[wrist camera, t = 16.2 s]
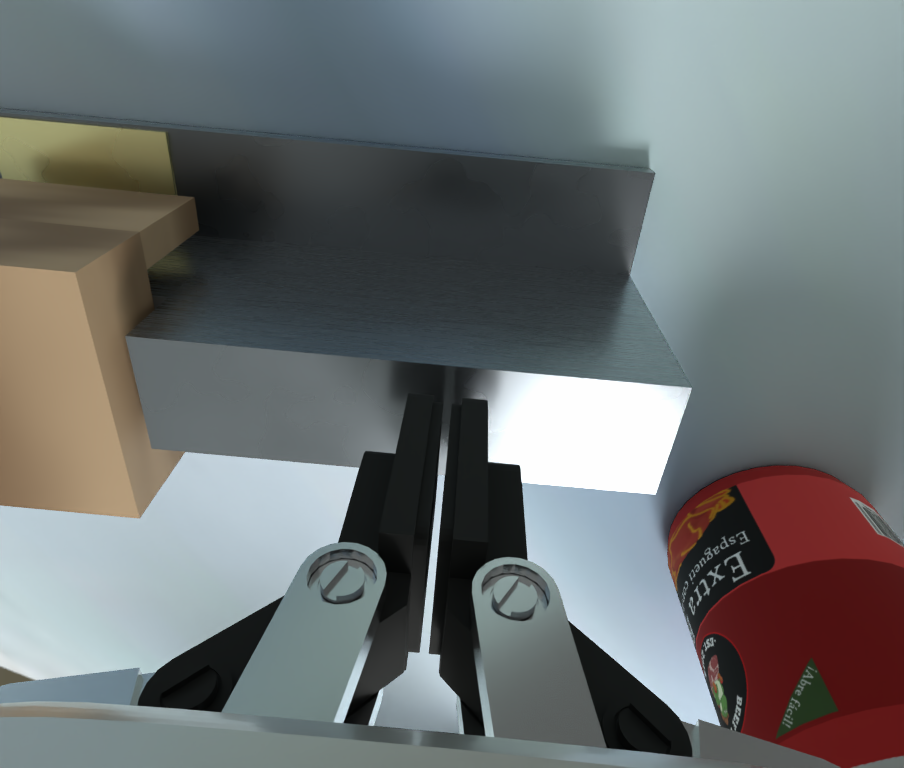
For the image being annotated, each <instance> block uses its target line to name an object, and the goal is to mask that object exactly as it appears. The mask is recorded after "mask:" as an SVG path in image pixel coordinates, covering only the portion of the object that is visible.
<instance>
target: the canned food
mask: <svg viewBox="0 0 904 768" xmlns="http://www.w3.org/2000/svg"><path fill="white" fill-rule="evenodd" d="M667 555H668V567H669V570H670V573H671V576H672V579H673V582H674V585H675V588H676V591H677V594H678V597H679V600H680V603H681V606H682V609H683V612H684V615H685V618H686V622H687V625H688V628H689V631H690V634H691V637H692V640H693V643H694V646H695V649H696V652H697V655H698V658H699V661H700V664H701V667H702V670H703V673H704V676H705V679H706V682H707V685H708V689H709V692H710V695H711V698H712V701H713V704H714V707H715V710H716V713H717V716H718V719H719V722H720V725H721V727H724V728H727V729H730V730H733V731H737V732H740V733H743V734H746V735H749V736H752V737H755V738H759V739H762V740H765V741H768V742H771V743H774V744H777V745H781V746H784V747H787V748H790V749H793V750H796V751H800V752H803V753H806V754H809V755H812V756H815V757H818V758H822V759H824V760H826V761H828V762H830V763H832V764H835V765H837V766H839V767H841V768H904V545H903V543H902V542H901V541H900V540H899V538H898V537H897V536H896V535H895V533H894V532H893V531H892V530H891V528H890V527H889V526H888V525H887V523H886V522H885V521H884V520H883V518H882V517H881V516H880V515H879V513H878V512H877V511H876V510H875V508H874V507H873V506H872V505H871V504H870V503H869V502H868V501H867V500H866V499H865V498H864V496H863V495H862V494H860V493H858V492H857V491H855V490H854V489H852V488H851V487H849V486H848V485H846V484H845V483H843V482H841V481H840V480H838V479H837V478H835V477H833V476H832V475H829V474H826V473H824V472H821V471H818V470H816V469H811V468H805V467H799V466H778V465H776V466H767V467H759V468H753V469H749V470H745V471H741V472H737V473H734V474H732V475H729V476H727V477H724V478H722V479H720V480H717V481H715V482H714V483H712V484H710V485H709V486H707V487H705V488H704V489H702V490H700V491H699V492H698V493H697V494H696V495H694V496H693V497H692V498H691V499H689V500H688V501H687V502H686V504H685V505H684V506H683V507H682V508H681V510H680V511H679V512H678V513H677V515H676V517H675V519H674V521H673V523H672V525H671V528H670V533H669V537H668V552H667Z"/></svg>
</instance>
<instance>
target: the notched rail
mask: <svg viewBox="0 0 904 768" xmlns="http://www.w3.org/2000/svg"><path fill="white" fill-rule="evenodd" d="M654 175H655V173H654V172H653V171H652V170H651V169H650V168H640V167H629V166H618V165H608V164H597V163H586V162H575V161H565V160H554V159H543V158H532V157H521V156H511V155H500V154H489V153H478V152H467V151H457V150H446V149H435V148H424V147H414V146H403V145H392V144H381V143H370V142H360V141H349V140H338V139H327V138H316V137H306V136H295V135H284V134H273V133H263V132H252V131H241V130H230V129H219V128H209V127H198V126H187V125H176V124H165V123H155V122H144V121H133V120H122V119H112V118H101V117H90V116H79V115H68V114H58V113H47V112H36V111H25V110H14V109H4V108H0V178H1V179H11V180H22V181H32V182H42V183H53V184H63V185H73V186H84V187H94V188H104V189H115V190H125V191H135V192H146V193H156V194H166V195H177V196H187V197H195V204H196V211H197V219H198V226H199V231H197V232H196V233H195V234H194V235H192V236H191V237H190V238H188V239H187V240H186V241H184V242H183V243H182V244H180V245H179V246H178V247H176V248H175V249H174V250H172V251H171V252H170V253H168V254H167V255H166V256H164V257H163V258H162V259H160V260H159V261H158V262H156V263H155V264H154V265H153V266H151V267H150V268H149V269H147V272H148V277H149V282H150V288H151V293H152V298H153V303H154V308H155V310H154V311H153V312H152V313H150V314H149V315H148V316H147V317H146V318H145V319H144V320H143V321H141V322H140V323H139V324H138V325H137V326H136V327H135V328H134V329H133V330H131V331H130V332H129V333H128V334H127V335H126V336H125V338H126V342H127V346H128V351H129V355H130V359H131V363H132V368H133V372H134V376H135V380H136V385H137V389H138V393H139V397H140V402H141V406H142V410H143V414H144V419H145V423H146V427H147V431H148V436H149V440H150V444H151V448H152V449H160V450H171V451H182V452H193V453H204V454H215V455H226V456H237V457H248V458H259V459H270V460H281V461H292V462H303V463H314V464H325V465H336V466H347V467H358V468H360V464H361V461H362V457H363V455H364V452H365V451H373V452H384V453H396V448H397V443H398V439H399V434H400V429H401V424H402V420H403V415H404V410H405V406H406V401H407V396H408V393H415V394H426V395H434V402H439V403H443V415H442V428H441V440H440V453H439V465H438V475H445V470H446V459H447V449H448V438H449V427H450V416H451V406H452V404H461V405H462V398H470V399H481V400H488V462H494V463H505V464H516V465H520V468H521V479H522V482H523V483H534V484H545V485H556V486H567V487H578V488H589V489H600V490H611V491H622V492H633V493H644V494H655V495H656V492H657V489H658V486H659V483H660V480H661V477H662V474H663V471H664V469H665V466H666V463H667V460H668V457H669V454H670V451H671V448H672V445H673V442H674V440H675V437H676V434H677V431H678V428H679V425H680V422H681V419H682V416H683V413H684V411H685V408H686V405H687V402H688V399H689V396H690V393H691V390H692V387H691V385H690V383H689V381H688V380H687V378H686V376H685V374H684V372H683V371H682V369H681V367H680V365H679V363H678V362H677V360H676V358H675V356H674V354H673V353H672V351H671V349H670V347H669V346H668V344H667V342H666V340H665V338H664V337H663V335H662V333H661V331H660V329H659V328H658V326H657V324H656V322H655V320H654V319H653V317H652V315H651V313H650V312H649V310H648V308H647V306H646V304H645V303H644V301H643V299H642V297H641V295H640V294H639V292H638V290H637V288H636V286H635V285H634V283H633V281H632V279H631V278H630V276H629V275H630V271H631V267H632V263H633V259H634V255H635V251H636V247H637V243H638V239H639V235H640V231H641V227H642V223H643V219H644V215H645V211H646V207H647V203H648V199H649V195H650V191H651V187H652V183H653V179H654Z"/></svg>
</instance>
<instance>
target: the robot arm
mask: <svg viewBox="0 0 904 768" xmlns="http://www.w3.org/2000/svg"><path fill="white" fill-rule="evenodd" d="M442 415H443V403H439V402H434V395H426V394H415V393H408V396H407V401H406V406H405V410H404V415H403V420H402V424H401V429H400V434H399V439H398V443H397V448H396V453H384V452H373V451H365V452H364V455H363V457H362V461H361V464H360V468H359V471H358V475H357V478H356V482H355V485H354V489H353V492H352V496H351V499H350V503H349V506H348V510H347V514H346V517H345V521H344V524H343V528H342V531H341V535H340V538H339V542H338V543H334V544H330V545H327V546H325V547H322V548H320V549H318V550H316V551H315V552H313V553H312V554H311V555H309V556H308V557H307V558H306V560H305V561H304V562H303V564H302V565H301V566H300V568H299V570H298V572H297V574H296V575H295V577H294V579H293V581H292V583H291V585H290V586H289V588H288V590H287V592H286V594H285V596H283V597H281V598H279V599H278V600H276V601H274V602H272V603H271V604H269V605H267V606H265V607H264V608H262V609H260V610H258V611H257V612H255V613H253V614H251V615H249V616H248V617H246V618H244V619H242V620H241V621H239V622H237V623H235V624H234V625H232V626H230V627H228V628H227V629H225V630H223V631H221V632H220V633H218V634H216V635H214V636H213V637H211V638H209V639H207V640H206V641H204V642H202V643H200V644H199V645H197V646H195V647H193V648H191V649H190V650H188V651H186V652H184V653H183V654H181V655H179V656H177V657H176V658H174V659H172V660H171V661H170V662H168V663H167V664H165V665H164V666H163V667H161V668H160V669H158V670H157V672H156V673H148V674H141V671H140V668H133V669H125V670H117V671H109V672H100V673H92V674H84V675H76V676H68V677H60V678H52V679H44V680H36V681H28V682H20V683H11V684H7V685H3V686H0V768H841V767H839V766H837V765H835V764H832V763H830V762H828V761H826V760H824V759H822V758H818V757H815V756H812V755H809V754H806V753H803V752H800V751H796V750H793V749H790V748H787V747H784V746H781V745H777V744H774V743H771V742H768V741H765V740H762V739H759V738H755V737H752V736H749V735H746V734H743V733H740V732H737V731H733V730H730V729H727V728H724V727H721V726H718V725H714V724H711V723H708V722H705V721H702V720H699V719H698V721H697V723H696V725H692V724H689V723H686V722H683V721H681V720H680V719H679V717H678V716H677V715H676V714H675V713H674V712H673V711H672V710H671V709H670V708H669V707H668V706H667V705H666V704H665V703H664V702H663V701H662V700H661V699H659V698H658V697H657V696H656V695H655V694H654V693H652V692H651V691H650V690H649V689H648V688H647V687H645V686H644V685H643V684H642V683H641V682H640V681H638V680H637V679H636V678H635V677H634V676H632V675H631V674H630V673H629V672H628V671H627V670H625V669H624V668H623V667H622V666H621V665H620V664H618V663H617V662H616V661H615V660H614V659H613V658H611V657H610V656H609V655H608V654H607V653H606V652H604V651H603V650H602V649H601V648H600V647H599V646H597V645H596V644H595V643H594V642H593V641H592V640H590V639H589V638H588V637H587V636H586V635H584V634H583V633H582V632H581V631H580V630H579V629H577V628H576V627H575V626H574V625H573V624H572V623H570V622H569V621H568V619H567V615H566V612H565V609H564V606H563V602H562V599H561V596H560V592H559V589H558V587H557V585H556V583H555V581H554V579H553V578H552V577H551V576H550V575H549V574H548V573H547V572H546V571H545V570H544V569H543V568H541V567H540V566H538V565H536V564H535V563H533V562H530V561H528V560H527V546H526V533H525V519H524V506H523V492H522V479H521V468H520V465H516V464H505V463H494V462H488V400H481V399H470V398H462V405H461V404H452V406H451V416H450V427H449V438H448V449H447V459H446V470H445V481H444V492H443V502H442V513H441V524H440V535H439V546H438V557H437V568H436V580H435V591H434V602H433V613H432V625H431V636H430V647H429V654H438V655H440V666H439V673H440V676H441V678H442V679H443V680H444V681H445V682H446V683H447V684H448V685H449V686H450V688H451V689H452V690H453V691H454V692H455V693H456V694H457V702H456V709H457V718H458V727H459V734H454V733H444V732H433V731H422V730H412V729H401V728H390V727H379V726H374V724H375V721H376V717H377V714H378V711H379V708H380V705H381V701H382V697H383V690H384V687H385V686H386V685H387V684H389V683H390V682H391V681H393V680H394V679H395V678H397V677H398V676H399V675H401V674H402V673H403V672H404V670H406V666H407V658H408V652H417V653H419V652H420V643H421V634H422V625H423V615H424V606H425V597H426V587H427V578H428V569H429V559H430V550H431V541H432V531H433V522H434V512H435V502H436V490H437V477H438V465H439V453H440V440H441V428H442Z"/></svg>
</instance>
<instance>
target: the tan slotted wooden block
mask: <svg viewBox="0 0 904 768" xmlns="http://www.w3.org/2000/svg"><path fill="white" fill-rule="evenodd" d="M197 231H199V226H198V219H197V211H196V204H195V197H187V196H177V195H166V194H156V193H146V192H135V191H125V190H115V189H104V188H94V187H84V186H73V185H63V184H53V183H42V182H32V181H22V180H11V179H1V178H0V505H3V506H13V507H24V508H35V509H45V510H56V511H67V512H77V513H88V514H99V515H109V516H120V517H131V518H140V517H141V516H142V514H143V513H144V511H145V510H146V508H147V507H148V506H149V504H150V503H151V501H152V500H153V498H154V497H155V495H156V494H157V492H158V491H159V489H160V488H161V486H162V485H163V484H164V482H165V481H166V479H167V478H168V476H169V475H170V473H171V472H172V470H173V469H174V467H175V466H176V465H177V463H178V462H179V460H180V459H181V457H182V456H183V454H184V453H185V452H182V451H171V450H160V449H152V448H151V444H150V440H149V436H148V431H147V427H146V423H145V419H144V414H143V410H142V406H141V402H140V397H139V393H138V389H137V385H136V380H135V376H134V372H133V368H132V363H131V359H130V355H129V351H128V346H127V342H126V338H125V336H126V335H127V334H128V333H129V332H130V331H131V330H133V329H134V328H135V327H136V326H137V325H138V324H139V323H140V322H141V321H143V320H144V319H145V318H146V317H147V316H148V315H149V314H150V313H152V312H153V311H154V310H155V308H154V303H153V298H152V293H151V288H150V282H149V277H148V272H147V269H149V268H150V267H151V266H153V265H154V264H155V263H156V262H158V261H159V260H160V259H162V258H163V257H164V256H166V255H167V254H168V253H170V252H171V251H172V250H174V249H175V248H176V247H178V246H179V245H180V244H182V243H183V242H184V241H186V240H187V239H188V238H190V237H191V236H192V235H194V234H195V233H196V232H197Z"/></svg>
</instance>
